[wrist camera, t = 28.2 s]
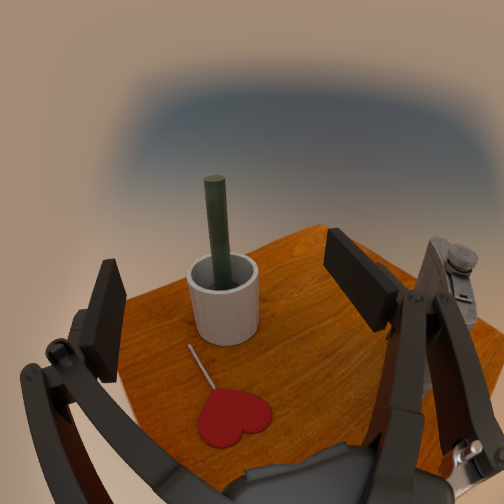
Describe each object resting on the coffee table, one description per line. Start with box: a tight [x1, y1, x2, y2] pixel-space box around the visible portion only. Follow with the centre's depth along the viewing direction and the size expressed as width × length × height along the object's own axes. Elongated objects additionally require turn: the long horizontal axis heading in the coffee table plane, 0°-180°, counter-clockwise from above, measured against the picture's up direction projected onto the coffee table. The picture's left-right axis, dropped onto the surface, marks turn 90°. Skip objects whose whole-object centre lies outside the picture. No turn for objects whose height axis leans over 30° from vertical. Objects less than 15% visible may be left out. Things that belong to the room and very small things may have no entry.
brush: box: [204, 175, 240, 291], centre depth 34 cm, size 5×5×20 cm
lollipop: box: [188, 344, 272, 448], centre depth 30 cm, size 8×1×15 cm
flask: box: [413, 236, 478, 400], centre depth 25 cm, size 4×14×18 cm, turn 158°
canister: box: [186, 252, 259, 346], centre depth 37 cm, size 9×9×9 cm
